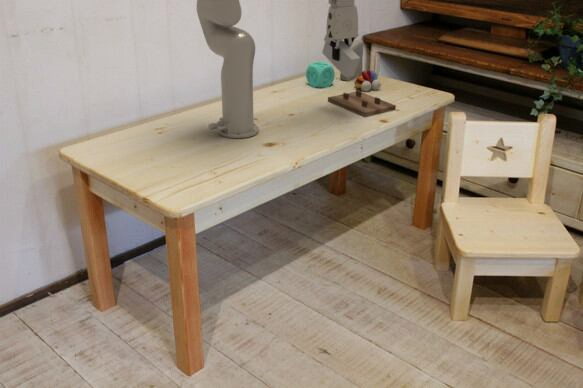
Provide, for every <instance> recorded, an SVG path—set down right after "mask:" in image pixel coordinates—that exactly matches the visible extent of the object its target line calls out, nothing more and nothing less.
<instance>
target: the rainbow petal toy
mask: <svg viewBox="0 0 583 388" xmlns="http://www.w3.org/2000/svg"><path fill="white" fill-rule="evenodd" d="M361 74H362V76H360V77H359V76H357V78H354V81H353V84H354V86H355V87H356V88H359V89H361V90H362V91H363V92H369V91H370V90H373V91H378V90H380V88H381V85H382V83H381V81H380V80H379V79H378V78H379V75H378V73H377V72H373V70H372V69H368V70H366V71H365V70H362V73H361Z"/></svg>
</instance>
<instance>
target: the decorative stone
mask: <svg viewBox="0 0 583 388" xmlns="http://www.w3.org/2000/svg"><path fill="white" fill-rule="evenodd" d="M350 48H351V49H352V50H353V51H354V52H355V53H356V54H357V55H358V56H359V57H360V60H359V63H358V66H357V68H356V71H355V74H354V76H350V77H345V76H344V75H343V74H342V73H341V72H340V73H339V78H340V80H341V81H347V82H348V81H351V80H355V79H356V78H357V76H359V77H362V74H361V73H362V71H363V56H364V40H362V39H354V41H353V43H352V46H351V47H350Z"/></svg>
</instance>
